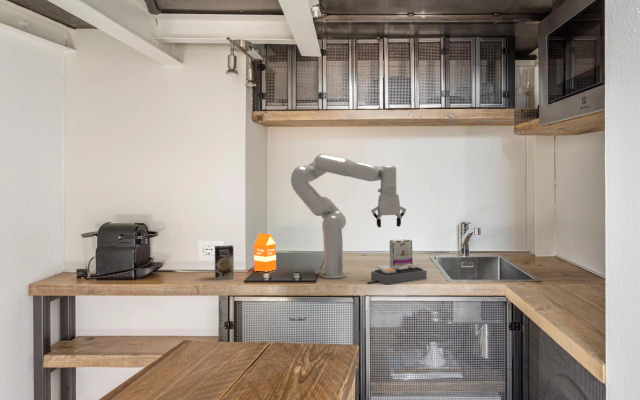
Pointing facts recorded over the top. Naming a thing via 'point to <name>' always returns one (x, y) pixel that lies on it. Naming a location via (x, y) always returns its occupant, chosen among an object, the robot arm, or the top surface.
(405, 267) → the rocker middle
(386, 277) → the power strip
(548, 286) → the top surface
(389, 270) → the rocker left
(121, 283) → the top surface
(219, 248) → the coffee box
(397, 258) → the candy bar box
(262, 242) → the orange juice
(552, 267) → the top surface
